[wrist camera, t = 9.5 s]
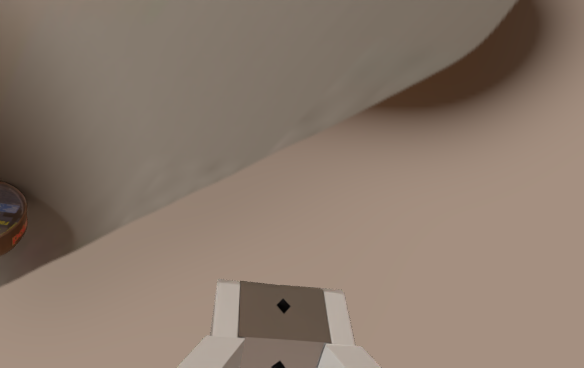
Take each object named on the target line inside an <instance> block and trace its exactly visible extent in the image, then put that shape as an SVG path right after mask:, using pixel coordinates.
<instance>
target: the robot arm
mask: <svg viewBox="0 0 584 368" xmlns="http://www.w3.org/2000/svg"><path fill="white" fill-rule="evenodd" d="M177 368H382V367H381V366H380V365H379V364H378V363H377V362H376V361H375V360H374V359H373V358H372V357H371V356H370V355H369V353H368V352H367V351H366V350H365V349H364V348H363V347H362V346H356V345H355V340H354V335H353V331H352V326H351V322H350V317H349V312H348V308H347V303H346V298H345V294H344V292H343V291H342V290H339V289H326V288H313V287H300V286H287V285H273V284H264V283H255V282H247V281H240V282H239V281H233V280H224V279H218V282H217V288H216V295H215V303H214V309H213V317H212V324H211V332H210V336H207V335H206V336H205V337H204V338H203V339H202V340H201V341H200V342H199V343H198V345H197V346H196V347H195V348H194V349H193V350H192V351H191V352H190V353H189V354H188V356H187V357H186V358H185V359H184V360H183V361H182V362H181V363H180V364H179V365H178V366H177Z"/></svg>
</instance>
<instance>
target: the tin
mask: <svg viewBox="0 0 584 368" xmlns="http://www.w3.org/2000/svg"><path fill="white" fill-rule="evenodd" d="M26 211H27V202H26V199H25V197H24V195H23V194H22V193H21V192H20V191H19V190H18V189H17V188H15V187H14V186H12V185H10V184H8V183H5V182H1V181H0V256H1V255H3V254H5V253H7V252H9V251H10V250H11V249H12V248H14V246H15V245H16V244H17V243H18V242H19V241H20V240H21V238H22V237H23V235H24V234H25V232H26V229H27V212H26Z"/></svg>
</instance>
